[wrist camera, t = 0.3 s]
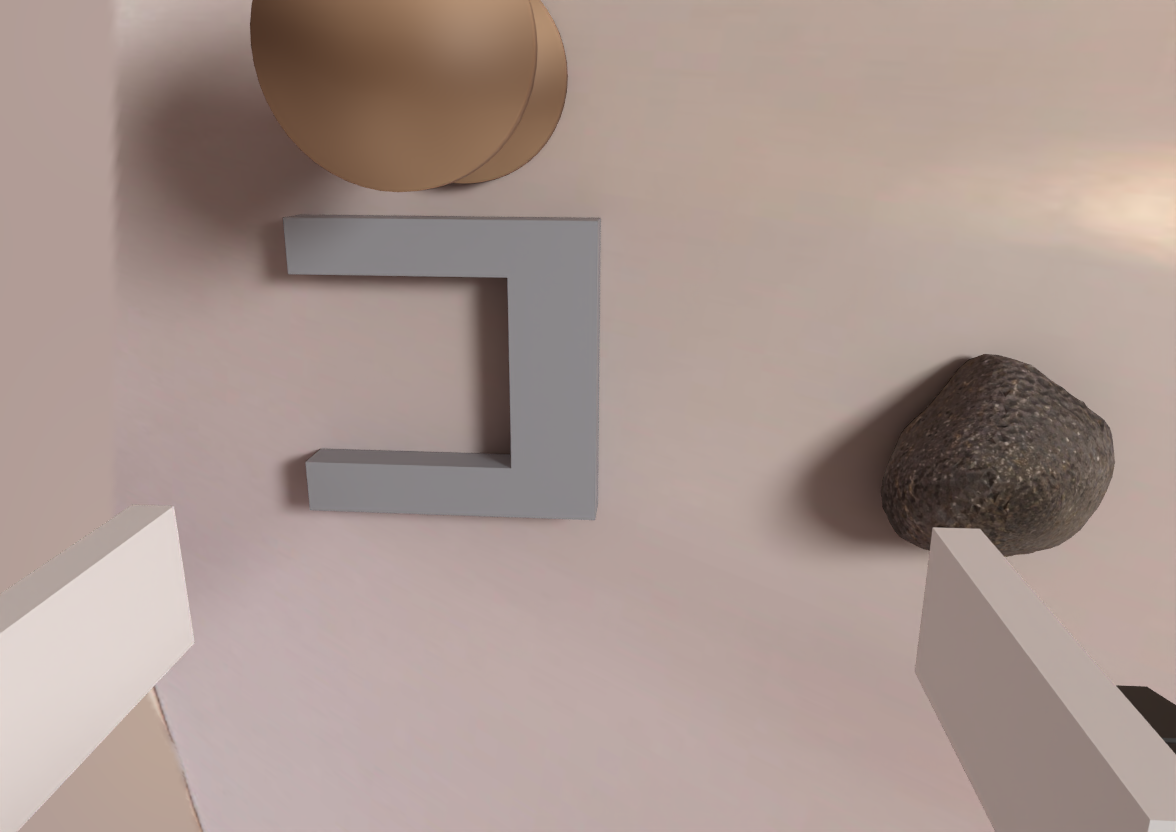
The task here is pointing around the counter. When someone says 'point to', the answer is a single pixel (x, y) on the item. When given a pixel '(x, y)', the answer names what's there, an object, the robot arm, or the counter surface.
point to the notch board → (536, 363)
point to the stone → (999, 460)
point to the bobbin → (412, 85)
